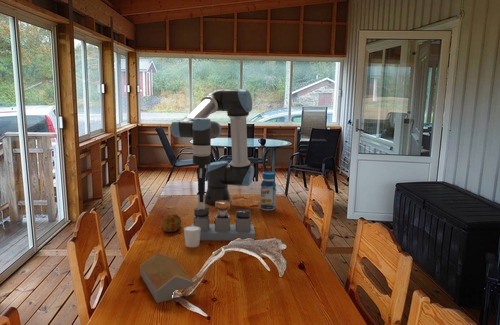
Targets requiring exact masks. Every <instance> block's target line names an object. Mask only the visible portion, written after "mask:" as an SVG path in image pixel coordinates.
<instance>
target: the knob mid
mask: <svg viewBox="0 0 500 325" xmlns="http://www.w3.org/2000/svg"><path fill="white" fill-rule="evenodd" d="M214 207H215V209H216V210H217V214H218V218H227V215H228V210H230V209H231V201H230V202H229V201H223V200H222V201H216V202H215V205H214Z"/></svg>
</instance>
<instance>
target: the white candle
mask: <svg viewBox="0 0 500 325" xmlns="http://www.w3.org/2000/svg"><path fill="white" fill-rule="evenodd" d="M183 232H184V234H183V235H184V242H185V243H184V244H185V247H188V248H197V247H199V246H200V241H201V240H200V232H201V228H200V227H198V226H191V225H189V226H185V227H184V228H183Z"/></svg>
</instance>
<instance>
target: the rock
mask: <svg viewBox="0 0 500 325" xmlns="http://www.w3.org/2000/svg"><path fill="white" fill-rule="evenodd" d="M181 225H182V219H181V216H179V215H178V214H177V213H169V214H167V215H166V216H165V218H164V219H163V222H162V227H163V228H162V229H163V231H164V232H165V233H170V232H171V233H172V232H176V231H177V230H179V229H180V228H181Z"/></svg>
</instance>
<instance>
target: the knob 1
mask: <svg viewBox="0 0 500 325" xmlns="http://www.w3.org/2000/svg"><path fill="white" fill-rule="evenodd" d="M193 211H194V212H193V214H194V216H197V218H206V216H208V215H209V216H210V208H209V207H205V209H198V207H195V208H194V209H193Z"/></svg>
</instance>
